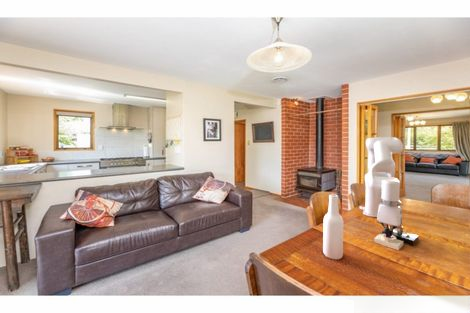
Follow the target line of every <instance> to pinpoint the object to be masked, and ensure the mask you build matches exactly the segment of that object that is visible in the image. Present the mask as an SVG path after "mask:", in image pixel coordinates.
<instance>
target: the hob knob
mask: <svg viewBox="0 0 470 313" xmlns="http://www.w3.org/2000/svg"><path fill="white" fill-rule="evenodd" d="M401 226H402V228H401V229H397V228H396V229H397V234H399V235H401V234H402V233H403V231H404V226H403V225H401Z"/></svg>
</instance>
